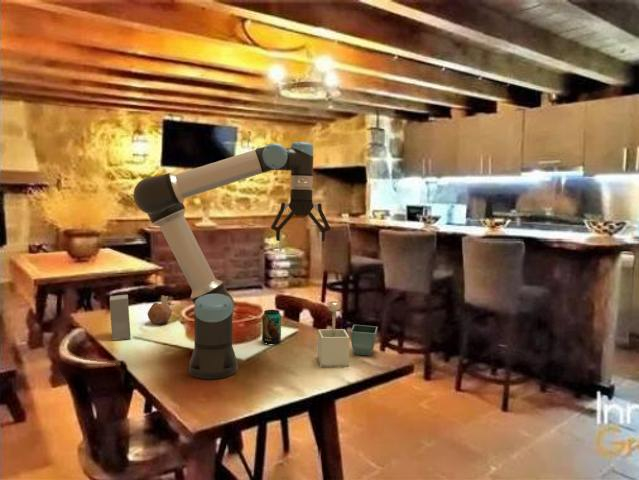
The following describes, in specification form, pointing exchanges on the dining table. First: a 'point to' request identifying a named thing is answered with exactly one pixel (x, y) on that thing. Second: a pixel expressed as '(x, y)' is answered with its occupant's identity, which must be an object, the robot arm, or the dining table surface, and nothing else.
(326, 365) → the cream square planter
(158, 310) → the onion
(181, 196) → the robot arm
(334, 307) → the plunger
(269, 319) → the beverage can
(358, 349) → the flower pot
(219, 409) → the dining table surface
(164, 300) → the architectural model
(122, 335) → the skincare box
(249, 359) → the dining table surface
